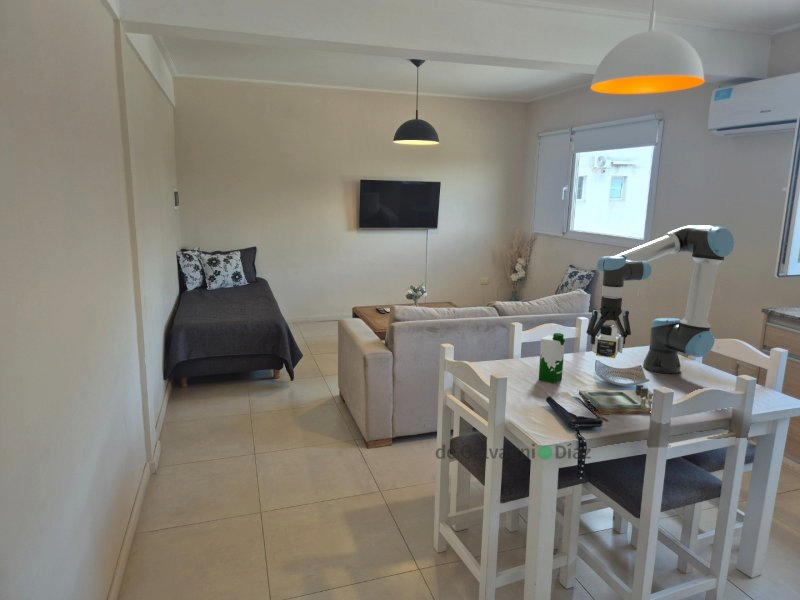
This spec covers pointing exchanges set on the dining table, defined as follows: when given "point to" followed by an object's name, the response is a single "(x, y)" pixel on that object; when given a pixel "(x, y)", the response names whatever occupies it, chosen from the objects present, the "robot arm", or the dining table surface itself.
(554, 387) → the dining table surface
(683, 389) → the dining table surface
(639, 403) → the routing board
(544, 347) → the milk carton
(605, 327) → the medicine bottle
